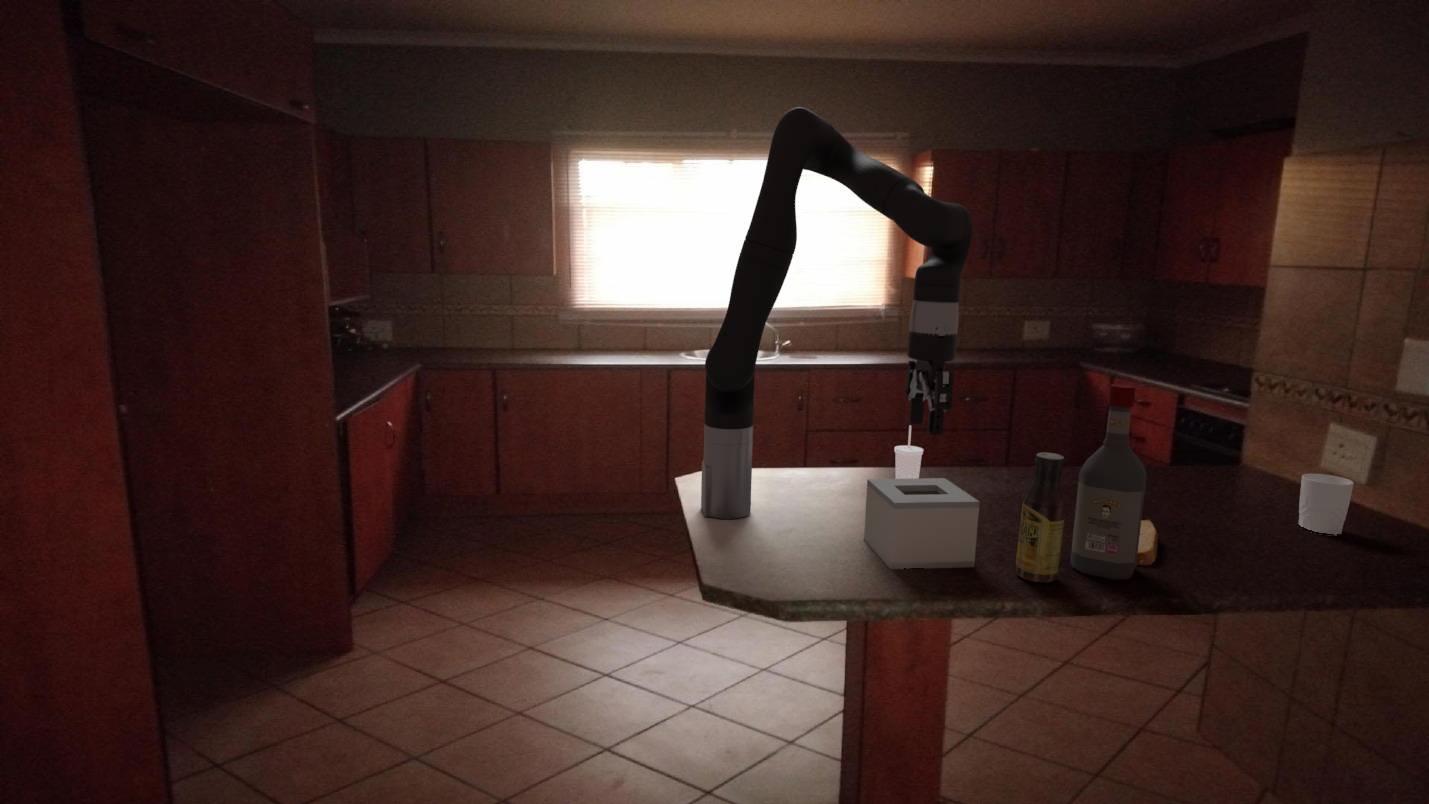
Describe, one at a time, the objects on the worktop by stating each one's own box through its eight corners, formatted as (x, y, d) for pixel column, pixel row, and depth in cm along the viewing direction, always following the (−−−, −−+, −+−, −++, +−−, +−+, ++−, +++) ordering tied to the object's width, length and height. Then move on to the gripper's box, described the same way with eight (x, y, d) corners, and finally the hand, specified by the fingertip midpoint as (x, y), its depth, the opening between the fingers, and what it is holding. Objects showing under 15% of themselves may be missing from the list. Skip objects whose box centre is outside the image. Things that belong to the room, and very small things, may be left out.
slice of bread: (1136, 570, 136) (1138, 548, 135) (1050, 536, 152) (1052, 516, 151) (1209, 556, 143) (1212, 535, 142) (1120, 525, 159) (1122, 506, 159)
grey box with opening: (890, 569, 133) (894, 502, 131) (864, 539, 146) (867, 479, 144) (974, 567, 134) (979, 501, 133) (940, 538, 148) (944, 478, 146)
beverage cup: (923, 493, 176) (928, 428, 174) (894, 492, 176) (898, 428, 174) (917, 485, 182) (921, 423, 180) (889, 485, 182) (893, 422, 180)
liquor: (1130, 583, 129) (1152, 392, 124) (1067, 571, 134) (1086, 386, 129) (1136, 566, 137) (1157, 385, 131) (1077, 554, 141) (1095, 379, 136)
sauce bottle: (1008, 570, 134) (1018, 449, 130) (1045, 569, 134) (1057, 449, 131) (1026, 586, 127) (1038, 459, 124) (1065, 585, 128) (1078, 459, 124)
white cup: (1339, 527, 160) (1347, 476, 158) (1350, 539, 153) (1359, 486, 151) (1290, 521, 163) (1298, 471, 161) (1298, 532, 156) (1306, 481, 154)
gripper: (896, 325, 140) (888, 420, 143) (926, 333, 126) (917, 438, 129) (938, 326, 141) (930, 420, 144) (974, 334, 127) (964, 438, 130)
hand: (924, 428), depth 136 cm, fingers open, 8 cm apart
